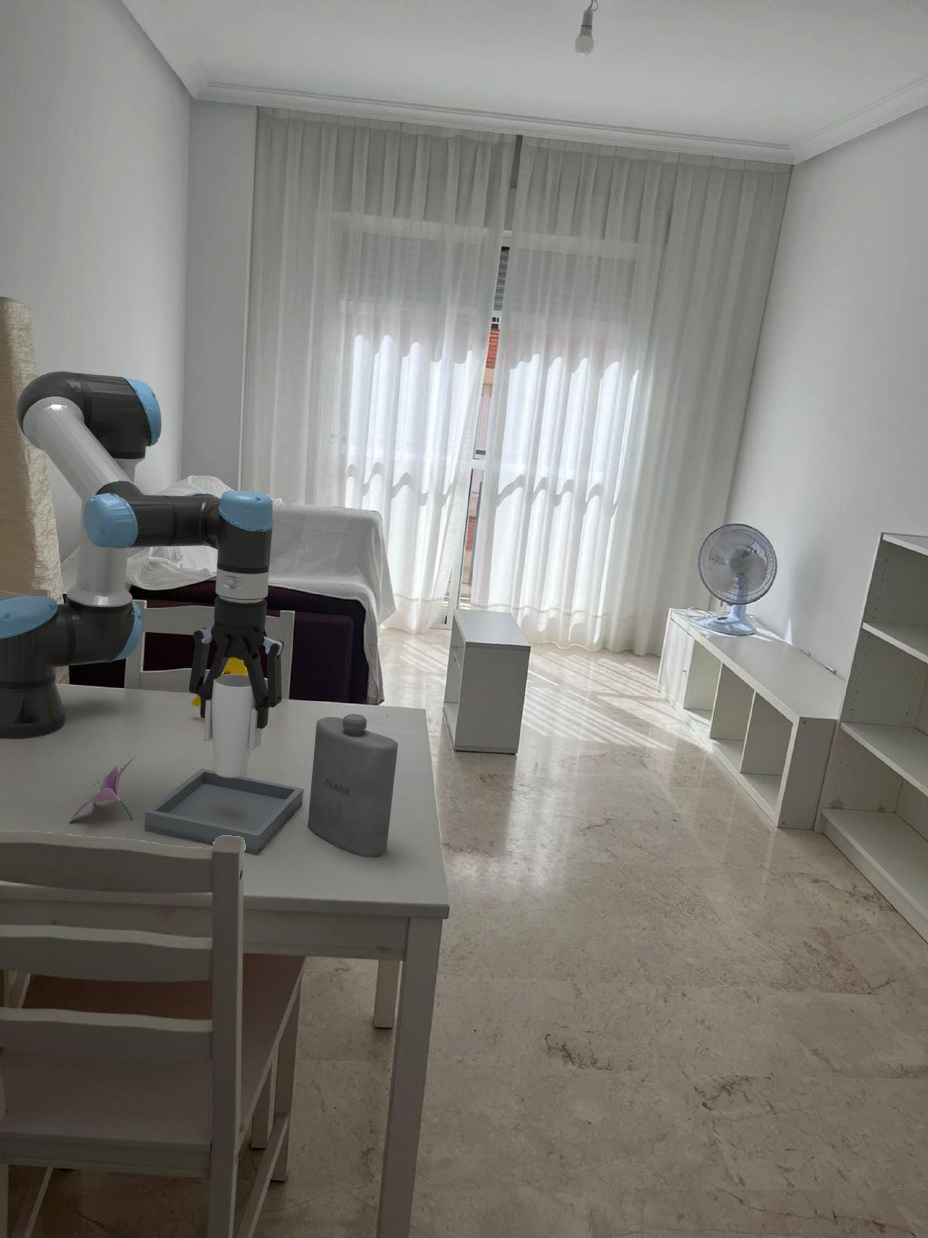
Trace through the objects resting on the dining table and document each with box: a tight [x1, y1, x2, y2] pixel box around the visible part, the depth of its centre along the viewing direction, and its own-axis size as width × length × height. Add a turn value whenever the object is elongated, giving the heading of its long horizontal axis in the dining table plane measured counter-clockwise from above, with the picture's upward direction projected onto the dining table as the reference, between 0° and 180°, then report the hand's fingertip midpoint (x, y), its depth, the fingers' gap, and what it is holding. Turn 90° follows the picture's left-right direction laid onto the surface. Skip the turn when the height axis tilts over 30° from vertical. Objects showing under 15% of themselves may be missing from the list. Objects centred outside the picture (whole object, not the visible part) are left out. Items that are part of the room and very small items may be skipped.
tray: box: [144, 768, 304, 855], centre depth 144 cm, size 18×18×3 cm
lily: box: [68, 755, 137, 823], centre depth 139 cm, size 12×12×10 cm
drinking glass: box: [212, 674, 256, 778], centre depth 141 cm, size 7×7×15 cm
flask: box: [307, 713, 399, 858], centre depth 140 cm, size 15×6×20 cm, turn 53°
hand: (232, 742), depth 141 cm, fingers closed on drinking glass, 7 cm apart
